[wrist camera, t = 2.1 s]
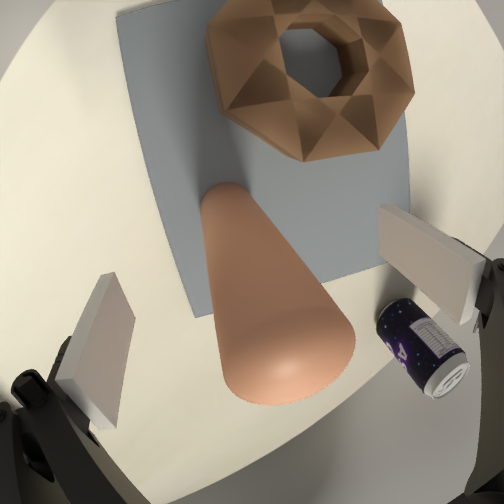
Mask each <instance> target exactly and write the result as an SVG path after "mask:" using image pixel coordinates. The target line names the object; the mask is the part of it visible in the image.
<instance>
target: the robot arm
mask: <svg viewBox="0 0 504 504" xmlns="http://www.w3.org/2000/svg"><path fill="white" fill-rule="evenodd" d="M378 220H379V255H380V256H381V257H383V258H384V259H385V260H386V261H387V262H388V263H390V264H391V265H392V266H393V267H394V268H396V269H397V270H398V271H399V272H400V273H401V274H403V275H404V276H405V277H406V278H407V279H408V280H410V281H411V282H412V283H413V284H414V285H415V286H416V287H417V288H419V289H420V290H421V291H422V292H423V293H424V294H425V295H426V296H428V297H429V298H430V299H431V300H432V301H433V302H434V303H435V304H436V305H437V306H439V307H440V308H441V309H442V310H443V311H444V312H445V313H446V314H447V315H448V316H449V317H450V318H451V319H452V320H454V322H456V323H457V324H458V325H461V324H463V323H465V322H466V321H468V320H470V319H471V317H472V314H473V310H474V307H476V308H477V309H478V310H480V311H479V314H478V318H477V321H476V324H475V327H474V330H473V333H475V332H476V329H477V328H478V327H479V336H480V348H481V349H480V350H481V372H482V396H481V419H480V432H479V442H478V451H477V458H476V464H475V467H474V470H473V472H472V473H471V475H470V477H469V479H468V482H467V484H466V487H465V491H464V493H462V494H461V495H460V496H458V497H456V498H455V499H453V500H452V501H451V502H449V503H448V504H504V259H503V258H501V259H500V258H499V259H496V260H494V261H491V260H490V259H488V258H487V257H485V256H484V255H482V254H481V253H479V252H478V251H476V250H474V249H471V247H470V246H468V245H465V243H463V242H462V241H460V240H458V239H456V238H453V237H450V236H448V235H447V234H445V233H443V232H442V231H440V230H438V229H437V228H435V227H433V226H431V225H430V224H428V223H426V222H424V221H422V220H421V219H419V218H417V217H415V216H413V215H411V214H410V213H408V212H406V211H404V210H402V209H400V208H398V207H396V206H395V205H393V204H391V203H389V204H384V205H380V206H378ZM135 319H136V318H135V316H134V314H133V312H132V310H131V308H130V305H129V303H128V301H127V299H126V297H125V295H124V293H123V290H122V288H121V286H120V284H119V281H118V279H117V277H116V274H115V272H112V273H108V274H104V275H101V276H100V278H99V280H98V282H97V284H96V286H95V288H94V290H93V292H92V294H91V296H90V298H89V300H88V302H87V304H86V306H85V308H84V311H83V313H82V315H81V317H80V319H79V321H78V324H77V326H76V328H75V330H74V333H73V335H72V336H69V337H68V338H67V339H66V340H65V341H64V343H63V344H62V345H61V347H60V350H59V352H58V356H57V357H56V359H55V363H54V364H53V367H52V369H51V372H50V374H49V377H48V379H47V382H45V380H44V379H43V378H42V377H41V375H40V374H39V373H38V372H37V371H36V370H34V369H30V370H26V371H24V372H23V373H21V374H20V375H19V376H18V377H17V378H16V379H15V381H14V382H13V384H12V387H11V394H12V395H13V396H14V397H15V398H16V399H17V400H18V402H19V403H20V404H21V405H22V406H23V408H20V409H17V410H14V409H13V408H12V407H11V405H10V404H9V403H8V402H1V403H0V504H69V502H70V504H151V503H150V502H149V501H148V500H147V499H146V498H145V497H144V496H143V495H142V494H141V493H140V491H139V490H138V489H137V488H136V487H135V486H134V485H133V484H132V483H131V481H130V480H129V479H128V478H127V477H126V476H125V474H124V473H123V472H122V471H121V470H120V468H119V467H118V466H117V465H116V463H115V462H114V461H113V460H112V458H111V457H110V456H109V455H108V453H107V452H106V451H105V449H104V448H103V447H102V445H101V444H100V442H99V441H98V440H97V438H96V437H95V435H94V434H93V433H92V432H91V431H90V430H89V423H90V421H91V422H92V423H93V424H94V425H95V426H96V427H97V428H98V429H116V427H117V419H118V412H119V405H120V398H121V391H122V385H123V379H124V373H125V368H126V362H127V357H128V352H129V347H130V342H131V337H132V332H133V328H134V323H135Z"/></svg>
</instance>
